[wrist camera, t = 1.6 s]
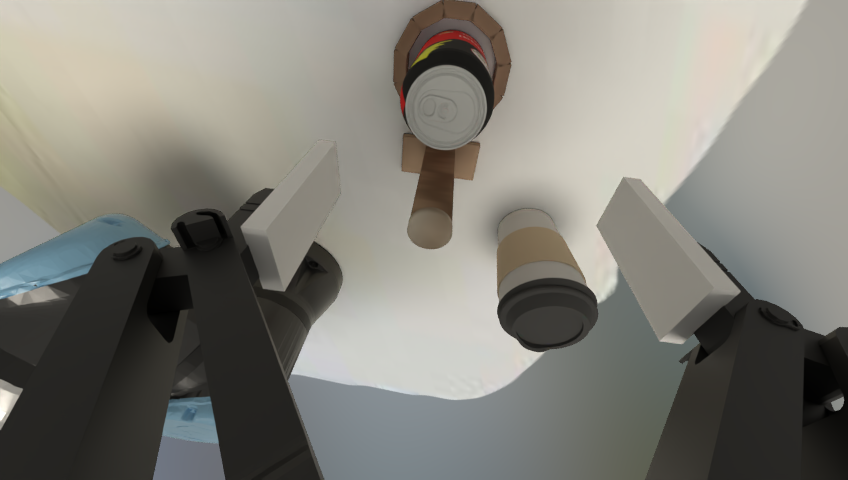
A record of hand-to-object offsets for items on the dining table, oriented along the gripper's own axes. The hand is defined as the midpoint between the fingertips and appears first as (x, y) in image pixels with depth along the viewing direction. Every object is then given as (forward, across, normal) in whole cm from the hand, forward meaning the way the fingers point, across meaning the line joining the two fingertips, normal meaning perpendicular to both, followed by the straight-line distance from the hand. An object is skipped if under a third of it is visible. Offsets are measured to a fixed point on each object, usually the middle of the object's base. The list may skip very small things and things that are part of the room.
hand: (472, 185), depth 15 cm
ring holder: (+19, -2, -2) cm, 19 cm away
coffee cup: (+19, +10, -16) cm, 27 cm away
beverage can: (+19, -2, +1) cm, 19 cm away
